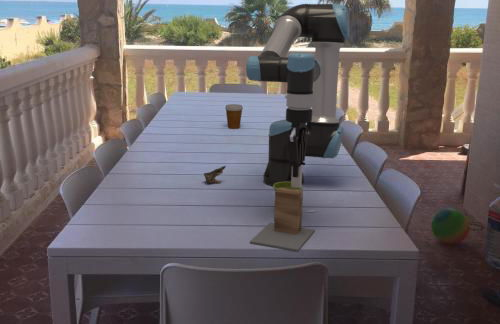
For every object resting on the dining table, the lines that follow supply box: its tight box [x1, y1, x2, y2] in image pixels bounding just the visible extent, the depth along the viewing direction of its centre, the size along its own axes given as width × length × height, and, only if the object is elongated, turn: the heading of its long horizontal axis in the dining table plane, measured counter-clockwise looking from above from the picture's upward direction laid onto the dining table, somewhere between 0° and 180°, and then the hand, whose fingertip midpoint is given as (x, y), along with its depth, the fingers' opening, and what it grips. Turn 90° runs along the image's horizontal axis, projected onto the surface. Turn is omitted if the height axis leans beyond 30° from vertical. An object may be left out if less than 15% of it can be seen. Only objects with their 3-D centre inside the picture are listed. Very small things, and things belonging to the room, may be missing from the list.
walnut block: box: [273, 188, 304, 235], centre depth 171 cm, size 4×7×12 cm, turn 68°
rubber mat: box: [249, 222, 316, 252], centre depth 169 cm, size 16×14×1 cm
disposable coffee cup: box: [224, 103, 244, 130], centre depth 316 cm, size 10×10×12 cm
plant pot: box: [272, 182, 303, 192], centre depth 189 cm, size 9×9×9 cm
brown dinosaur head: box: [203, 165, 227, 184], centre depth 219 cm, size 8×6×7 cm
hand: (296, 186), depth 175 cm, fingers closed
